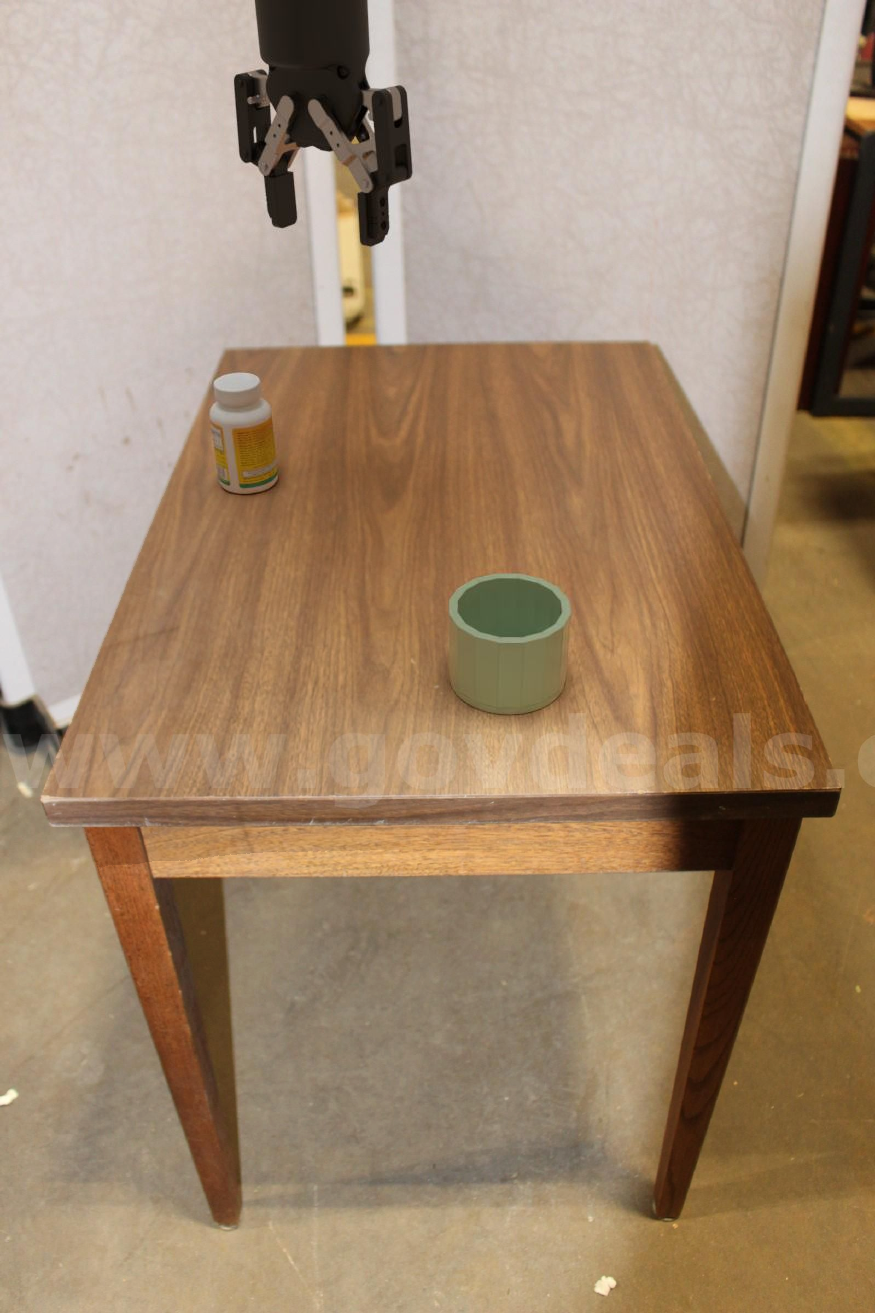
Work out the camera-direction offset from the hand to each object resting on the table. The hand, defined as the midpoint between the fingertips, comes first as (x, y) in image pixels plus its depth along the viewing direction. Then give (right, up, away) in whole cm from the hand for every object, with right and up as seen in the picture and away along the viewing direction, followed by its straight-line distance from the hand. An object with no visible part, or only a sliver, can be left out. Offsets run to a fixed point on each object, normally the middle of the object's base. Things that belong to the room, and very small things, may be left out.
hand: (328, 234), depth 80 cm
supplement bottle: (-9, -16, +17) cm, 25 cm away
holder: (+13, -33, -6) cm, 36 cm away
